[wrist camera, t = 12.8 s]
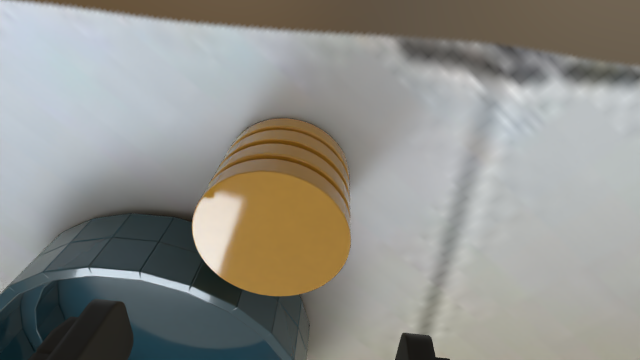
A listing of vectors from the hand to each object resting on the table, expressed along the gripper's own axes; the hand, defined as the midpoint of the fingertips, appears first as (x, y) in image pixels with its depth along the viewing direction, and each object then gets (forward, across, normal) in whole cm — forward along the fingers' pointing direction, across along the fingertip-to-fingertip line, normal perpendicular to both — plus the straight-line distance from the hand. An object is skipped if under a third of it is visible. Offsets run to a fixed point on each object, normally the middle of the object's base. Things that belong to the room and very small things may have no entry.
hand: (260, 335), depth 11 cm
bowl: (+9, +8, +11) cm, 16 cm away
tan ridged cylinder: (+9, 0, 0) cm, 9 cm away
